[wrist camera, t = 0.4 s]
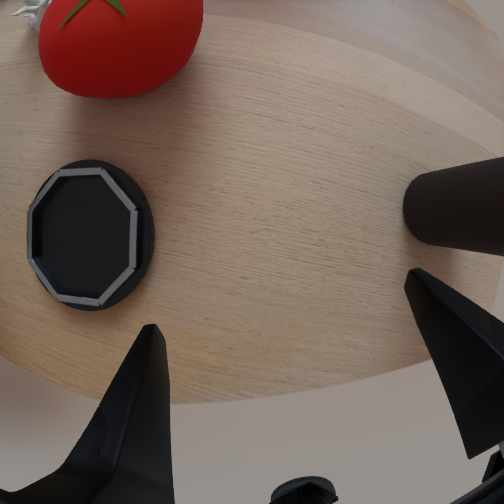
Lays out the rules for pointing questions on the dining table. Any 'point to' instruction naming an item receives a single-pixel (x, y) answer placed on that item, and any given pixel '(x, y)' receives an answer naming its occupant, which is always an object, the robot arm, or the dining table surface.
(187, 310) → the dining table surface
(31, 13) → the vertebra bone
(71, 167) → the stand
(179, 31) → the tomato
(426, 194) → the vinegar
